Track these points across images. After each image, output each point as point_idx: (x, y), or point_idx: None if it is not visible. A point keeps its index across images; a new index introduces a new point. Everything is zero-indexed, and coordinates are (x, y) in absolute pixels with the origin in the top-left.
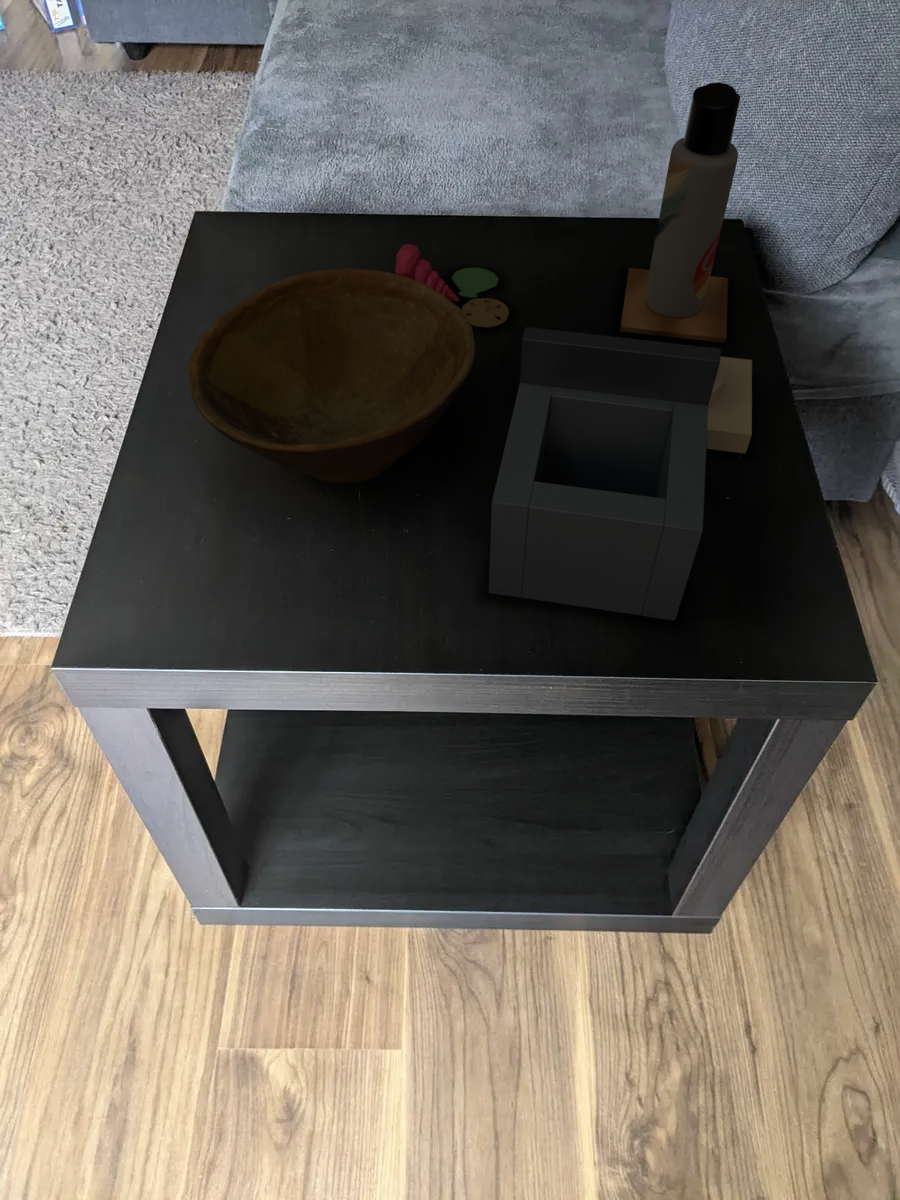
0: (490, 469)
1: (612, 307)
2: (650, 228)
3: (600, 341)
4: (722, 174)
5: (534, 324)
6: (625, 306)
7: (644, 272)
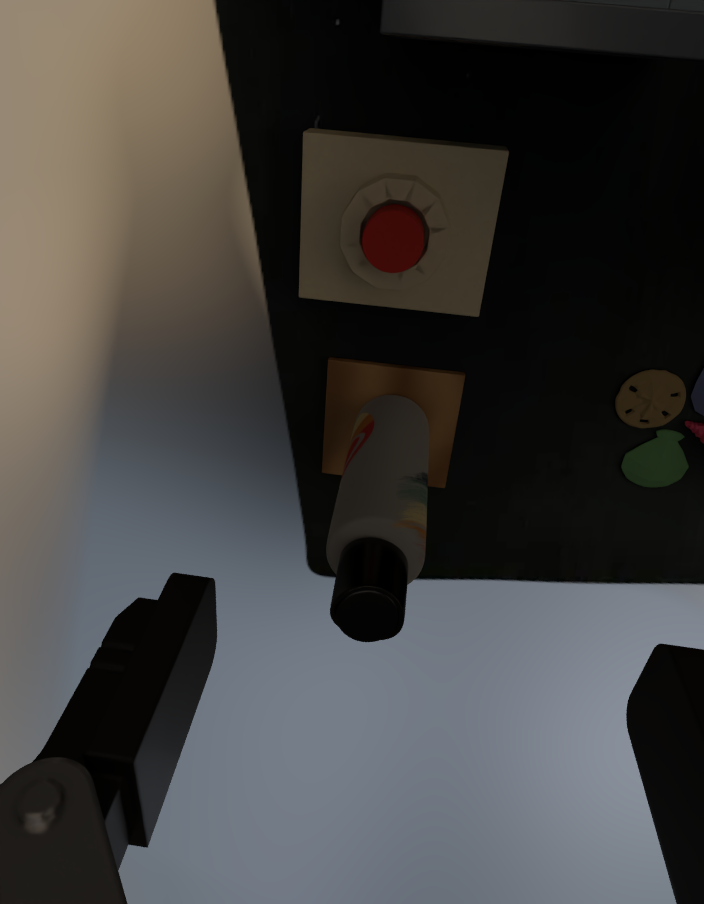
0: None
1: (470, 419)
2: None
3: (607, 29)
4: (349, 513)
5: (581, 381)
6: (455, 415)
7: None
